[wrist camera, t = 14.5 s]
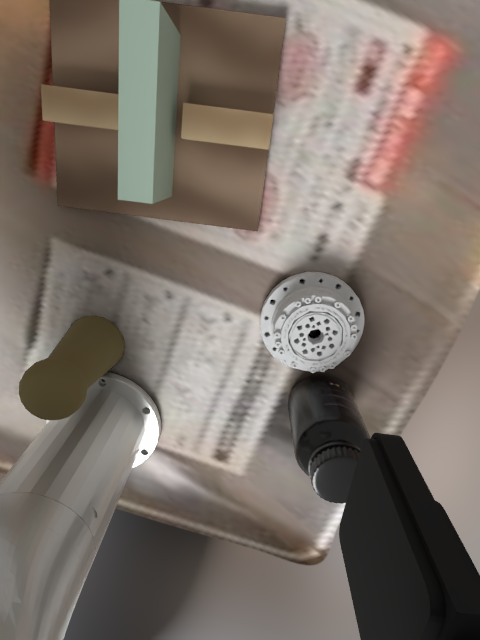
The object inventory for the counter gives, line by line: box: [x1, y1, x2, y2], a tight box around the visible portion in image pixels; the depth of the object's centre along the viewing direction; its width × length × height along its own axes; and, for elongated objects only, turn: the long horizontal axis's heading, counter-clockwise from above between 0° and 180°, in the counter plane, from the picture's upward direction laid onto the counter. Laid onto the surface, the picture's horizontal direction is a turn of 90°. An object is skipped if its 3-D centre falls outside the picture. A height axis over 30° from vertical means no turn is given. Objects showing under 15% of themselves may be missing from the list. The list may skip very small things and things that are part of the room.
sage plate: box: [118, 0, 181, 204], centre depth 30 cm, size 12×2×7 cm, turn 173°
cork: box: [19, 316, 125, 420], centre depth 37 cm, size 6×6×11 cm
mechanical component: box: [260, 271, 364, 373], centre depth 39 cm, size 10×4×10 cm
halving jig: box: [41, 0, 286, 231], centre depth 33 cm, size 16×18×3 cm
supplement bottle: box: [288, 375, 370, 503], centre depth 38 cm, size 7×7×12 cm
